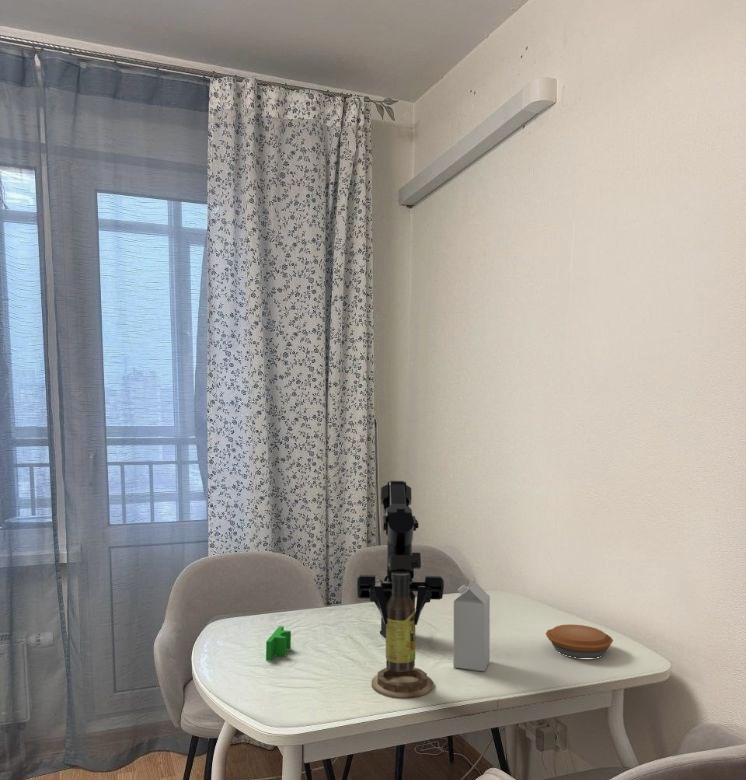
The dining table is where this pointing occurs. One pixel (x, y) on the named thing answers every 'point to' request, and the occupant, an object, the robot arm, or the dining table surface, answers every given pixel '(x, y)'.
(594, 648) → the pie
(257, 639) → the dining table surface
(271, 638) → the pipe clamp
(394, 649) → the sauce bottle
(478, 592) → the milk carton
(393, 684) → the ring holder
